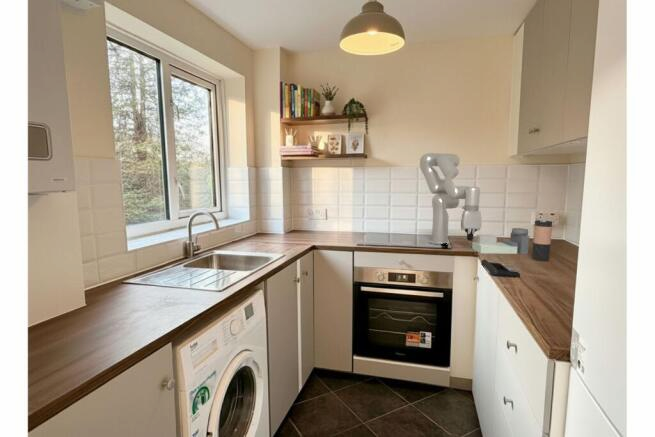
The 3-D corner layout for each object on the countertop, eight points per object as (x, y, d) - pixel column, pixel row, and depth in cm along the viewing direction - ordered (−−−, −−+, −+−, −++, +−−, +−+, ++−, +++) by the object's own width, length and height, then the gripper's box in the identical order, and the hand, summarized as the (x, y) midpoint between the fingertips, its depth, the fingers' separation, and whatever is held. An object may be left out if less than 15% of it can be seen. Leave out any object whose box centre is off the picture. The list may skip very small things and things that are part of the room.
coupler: (472, 248, 198) (473, 227, 197) (519, 249, 198) (521, 227, 196) (480, 253, 186) (482, 230, 185) (531, 253, 186) (533, 230, 184)
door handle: (514, 262, 158) (478, 258, 161) (531, 274, 139) (490, 269, 142) (513, 269, 159) (477, 265, 162) (530, 281, 139) (489, 276, 142)
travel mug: (540, 261, 168) (544, 222, 166) (528, 258, 176) (531, 220, 173) (552, 260, 170) (556, 221, 168) (539, 257, 178) (542, 220, 175)
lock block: (476, 242, 196) (476, 234, 195) (492, 243, 194) (493, 235, 193) (479, 244, 190) (479, 236, 189) (496, 245, 188) (496, 236, 188)
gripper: (460, 209, 186) (459, 241, 188) (487, 209, 185) (485, 241, 188) (456, 207, 193) (454, 239, 196) (482, 208, 193) (480, 239, 195)
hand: (469, 240), depth 192 cm, fingers closed
